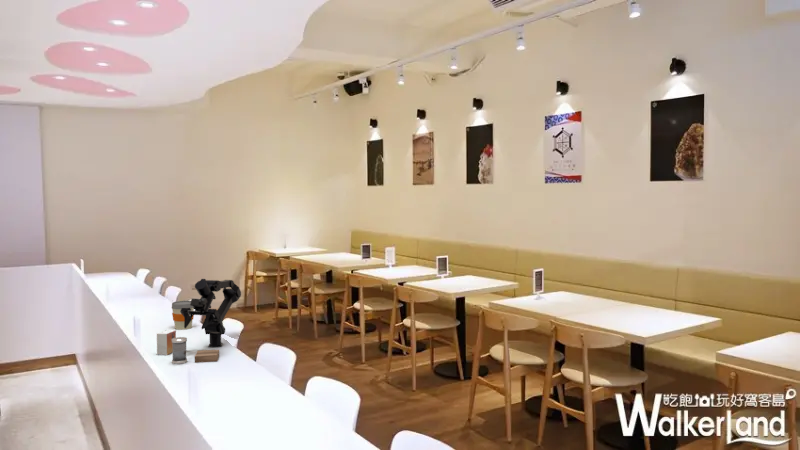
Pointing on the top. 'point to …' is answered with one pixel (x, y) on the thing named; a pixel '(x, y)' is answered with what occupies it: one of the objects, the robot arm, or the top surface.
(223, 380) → the top surface
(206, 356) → the stand
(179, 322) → the reusable coffee cup
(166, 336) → the small box
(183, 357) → the cylinder
